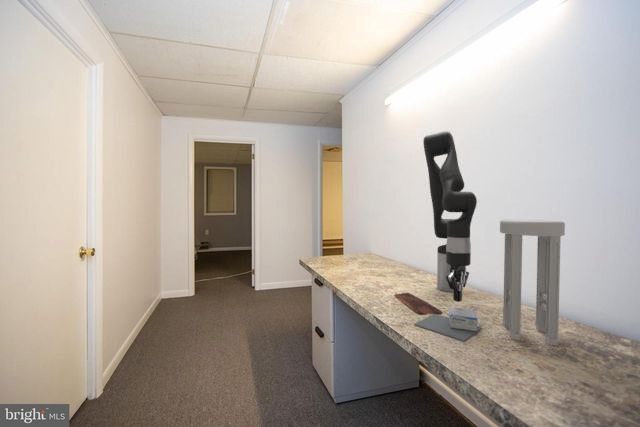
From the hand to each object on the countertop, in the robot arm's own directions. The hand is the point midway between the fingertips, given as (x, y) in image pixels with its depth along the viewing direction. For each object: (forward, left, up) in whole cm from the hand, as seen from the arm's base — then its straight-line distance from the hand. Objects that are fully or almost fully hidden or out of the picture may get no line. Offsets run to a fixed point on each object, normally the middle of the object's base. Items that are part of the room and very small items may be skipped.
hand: (457, 300), depth 101 cm
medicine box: (-1, +1, -4) cm, 5 cm away
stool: (-6, +19, -7) cm, 21 cm away
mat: (+7, 0, -7) cm, 10 cm away
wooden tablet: (-7, -20, -8) cm, 22 cm away
